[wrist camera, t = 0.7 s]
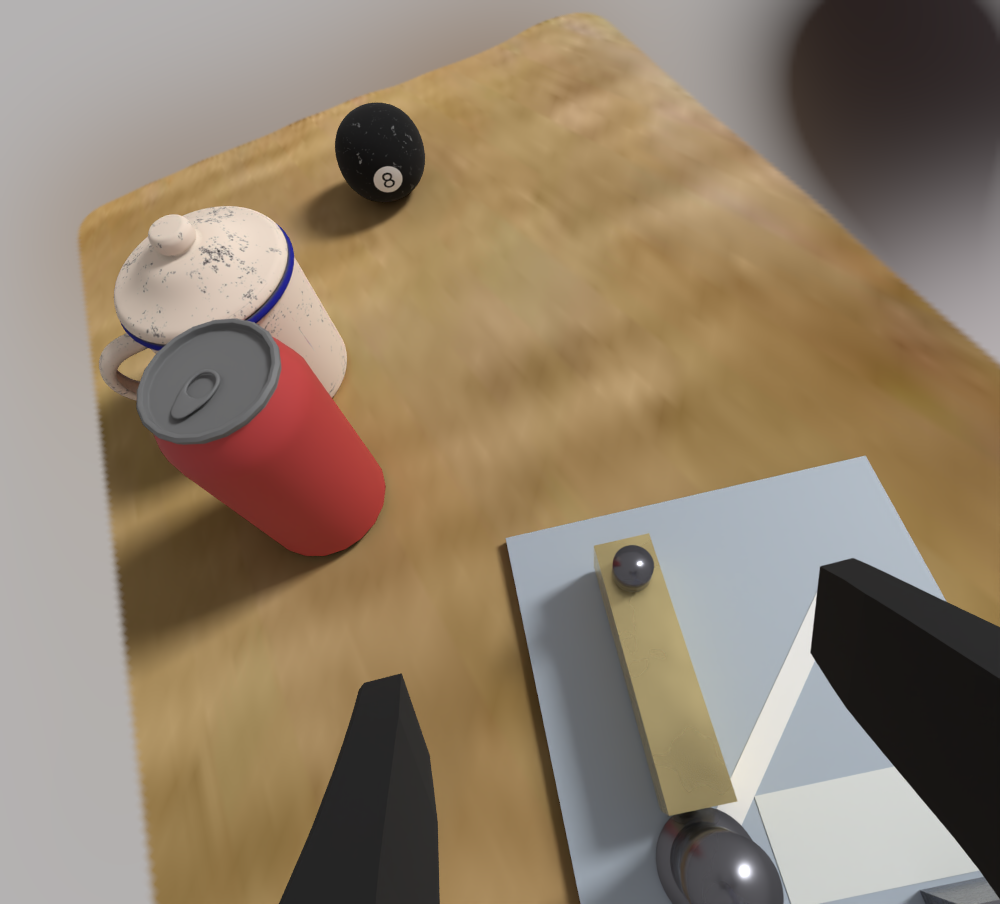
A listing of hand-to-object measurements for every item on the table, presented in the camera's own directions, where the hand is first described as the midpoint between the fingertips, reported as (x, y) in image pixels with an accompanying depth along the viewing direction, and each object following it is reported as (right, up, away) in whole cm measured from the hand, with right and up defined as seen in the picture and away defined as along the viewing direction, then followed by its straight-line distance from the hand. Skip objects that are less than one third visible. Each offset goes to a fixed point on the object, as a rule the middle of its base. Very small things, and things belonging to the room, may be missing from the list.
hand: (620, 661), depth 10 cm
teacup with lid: (-17, +7, +27) cm, 33 cm away
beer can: (-11, +1, +23) cm, 25 cm away
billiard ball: (-10, +23, +34) cm, 42 cm away
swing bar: (+4, -6, +16) cm, 17 cm away
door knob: (+6, -12, +13) cm, 19 cm away
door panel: (+9, -7, +15) cm, 19 cm away
